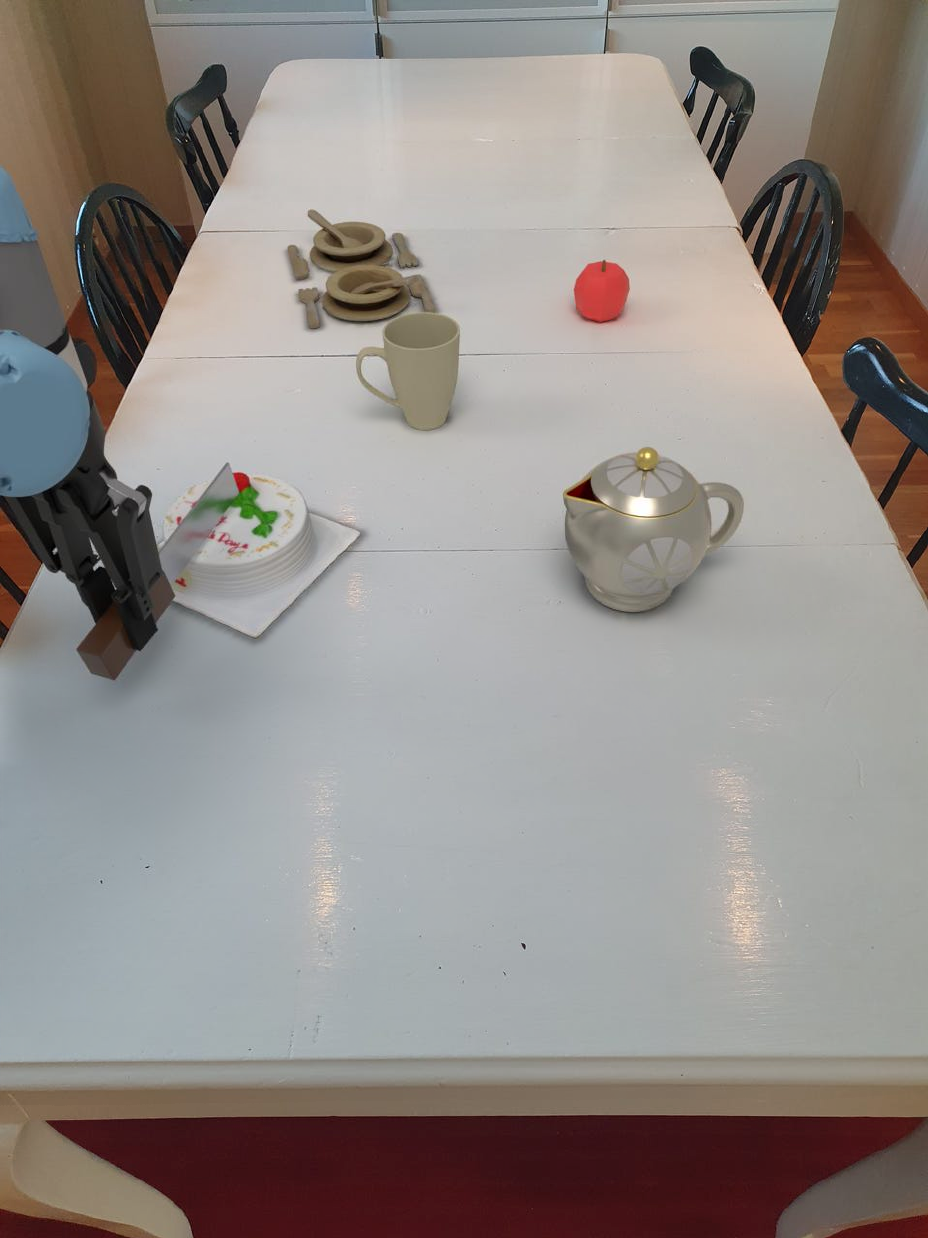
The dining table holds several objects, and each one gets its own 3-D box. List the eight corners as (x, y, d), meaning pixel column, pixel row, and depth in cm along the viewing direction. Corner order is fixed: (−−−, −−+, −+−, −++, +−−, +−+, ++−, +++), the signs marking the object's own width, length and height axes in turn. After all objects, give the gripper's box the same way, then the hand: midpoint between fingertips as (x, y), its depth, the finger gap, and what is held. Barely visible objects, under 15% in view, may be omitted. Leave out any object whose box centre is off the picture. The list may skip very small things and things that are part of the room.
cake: (232, 489, 105) (219, 427, 99) (364, 537, 98) (358, 473, 93) (118, 579, 93) (95, 514, 87) (259, 640, 87) (245, 574, 81)
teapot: (573, 644, 86) (586, 506, 74) (539, 551, 95) (547, 416, 83) (754, 617, 88) (794, 480, 76) (703, 529, 97) (732, 395, 85)
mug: (419, 389, 118) (413, 302, 110) (477, 416, 113) (475, 326, 105) (359, 426, 112) (348, 337, 104) (417, 455, 108) (411, 364, 99)
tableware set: (287, 248, 150) (281, 211, 146) (403, 234, 153) (401, 198, 149) (308, 332, 130) (301, 293, 125) (442, 314, 132) (440, 275, 128)
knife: (114, 681, 77) (97, 652, 74) (91, 674, 78) (73, 645, 75) (248, 495, 91) (238, 464, 88) (227, 490, 92) (217, 460, 89)
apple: (596, 296, 136) (601, 243, 130) (638, 314, 131) (645, 259, 126) (560, 314, 132) (563, 260, 126) (602, 333, 128) (607, 278, 122)
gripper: (160, 393, 64) (229, 626, 80) (-18, 359, 68) (83, 588, 84) (95, 452, 59) (183, 687, 75) (-92, 411, 63) (31, 644, 79)
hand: (130, 635), depth 80 cm, fingers closed on knife, 2 cm apart
